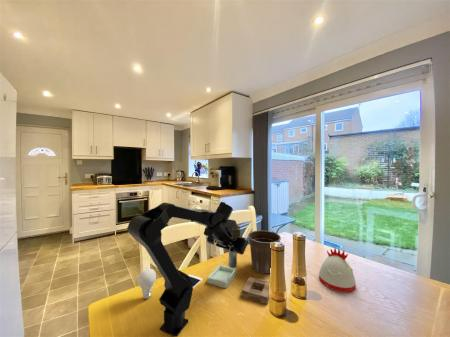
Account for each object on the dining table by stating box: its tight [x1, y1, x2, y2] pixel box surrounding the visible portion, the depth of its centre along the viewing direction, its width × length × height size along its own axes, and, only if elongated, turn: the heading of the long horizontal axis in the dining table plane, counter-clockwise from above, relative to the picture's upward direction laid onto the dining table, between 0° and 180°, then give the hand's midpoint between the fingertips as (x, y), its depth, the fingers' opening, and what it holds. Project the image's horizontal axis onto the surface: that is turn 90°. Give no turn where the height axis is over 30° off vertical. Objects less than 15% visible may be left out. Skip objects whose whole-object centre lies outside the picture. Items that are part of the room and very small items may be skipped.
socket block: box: [241, 276, 270, 305], centre depth 78 cm, size 10×10×2 cm
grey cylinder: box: [228, 236, 238, 269], centre depth 85 cm, size 4×4×12 cm
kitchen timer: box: [318, 247, 356, 293], centre depth 86 cm, size 14×14×15 cm
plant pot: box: [247, 230, 282, 275], centre depth 97 cm, size 16×16×16 cm
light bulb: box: [137, 268, 157, 299], centre depth 74 cm, size 7×7×11 cm
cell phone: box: [187, 274, 204, 289], centre depth 82 cm, size 8×16×1 cm, turn 152°
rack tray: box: [206, 264, 238, 289], centre depth 88 cm, size 12×9×2 cm
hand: (234, 250), depth 86 cm, fingers closed on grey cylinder, 4 cm apart
